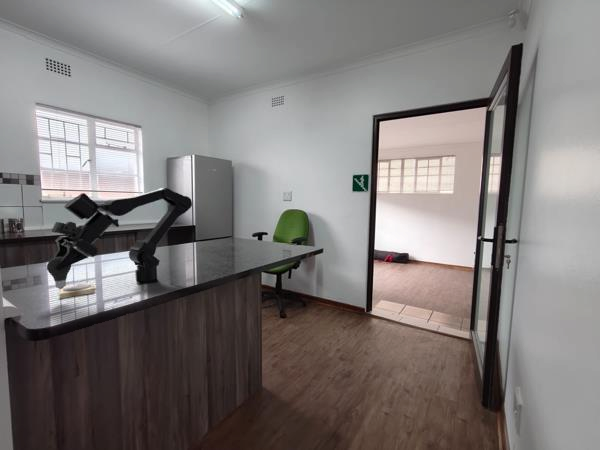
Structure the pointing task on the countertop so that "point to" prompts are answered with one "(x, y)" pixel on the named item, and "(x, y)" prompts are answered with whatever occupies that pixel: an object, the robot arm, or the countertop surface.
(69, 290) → the plinth
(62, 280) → the light bulb
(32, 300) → the countertop surface
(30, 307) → the countertop surface
